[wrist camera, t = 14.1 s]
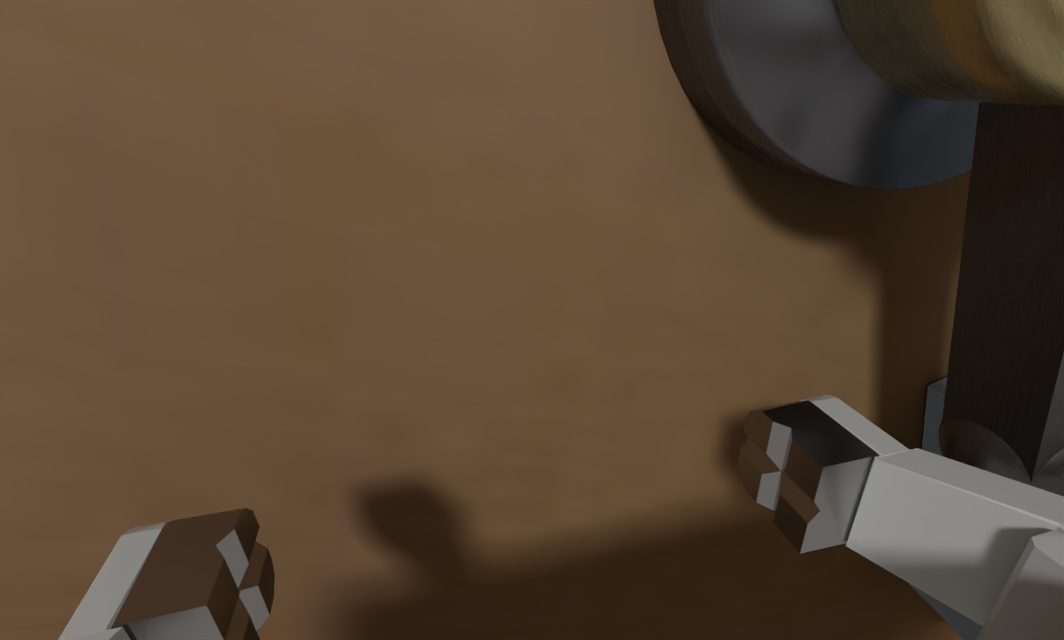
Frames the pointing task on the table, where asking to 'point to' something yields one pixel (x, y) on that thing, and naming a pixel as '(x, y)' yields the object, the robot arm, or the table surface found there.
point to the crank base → (809, 94)
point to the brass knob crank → (994, 215)
